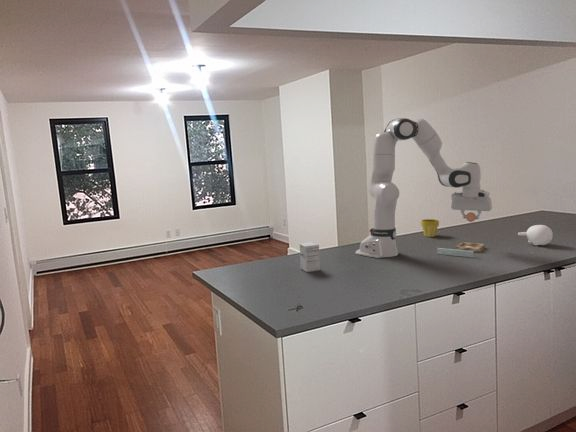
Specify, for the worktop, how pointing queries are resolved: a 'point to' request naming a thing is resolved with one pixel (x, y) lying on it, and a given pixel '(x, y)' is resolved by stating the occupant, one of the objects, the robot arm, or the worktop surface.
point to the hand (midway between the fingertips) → (470, 218)
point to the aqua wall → (455, 252)
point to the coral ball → (470, 217)
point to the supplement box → (309, 256)
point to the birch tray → (470, 247)
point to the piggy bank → (538, 234)
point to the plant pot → (429, 227)
